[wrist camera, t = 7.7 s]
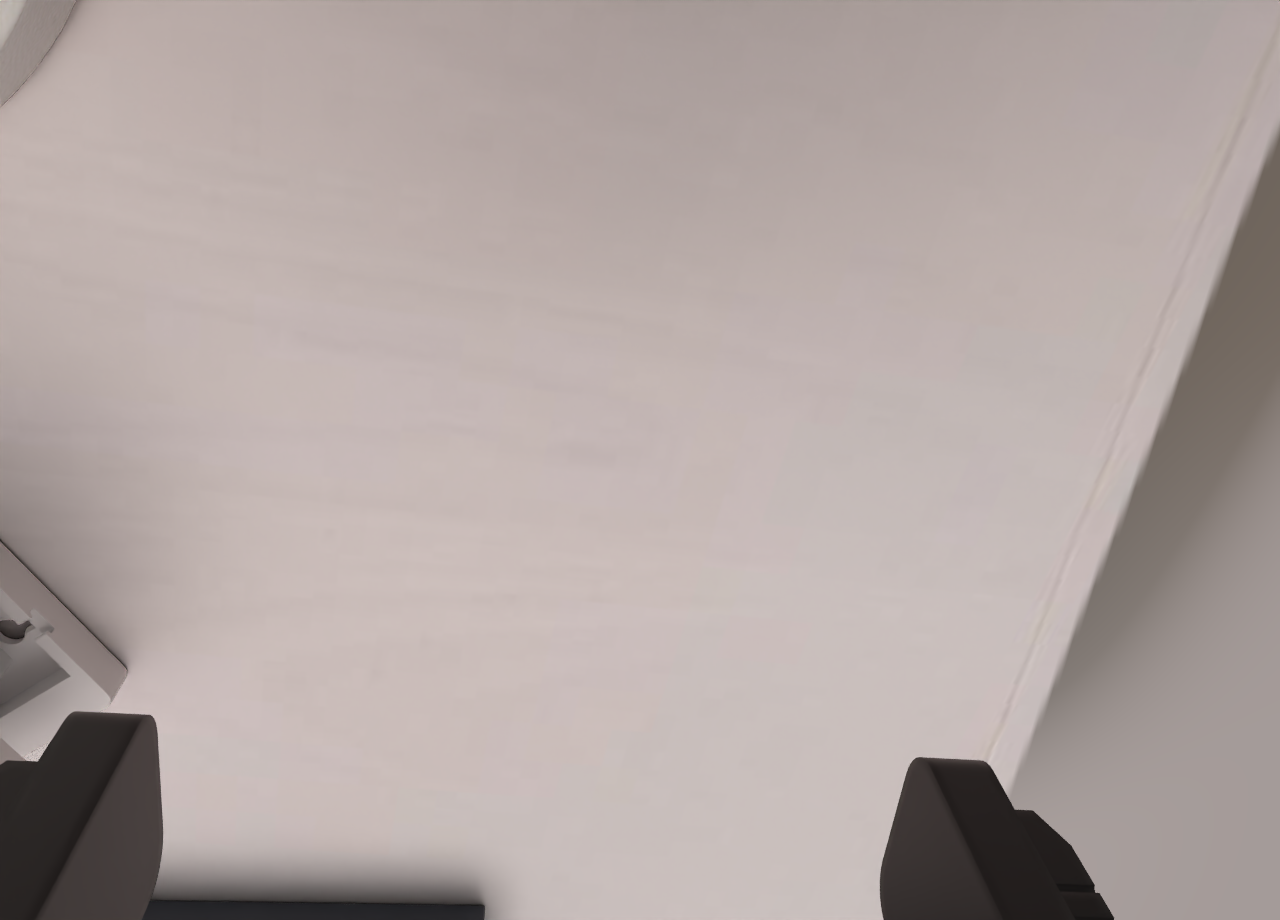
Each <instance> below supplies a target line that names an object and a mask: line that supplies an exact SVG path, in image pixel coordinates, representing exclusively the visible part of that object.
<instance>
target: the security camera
mask: <svg viewBox="0 0 1280 920" xmlns="http://www.w3.org/2000/svg"><path fill="white" fill-rule="evenodd" d="M2 620H14V621H15V622H16V623H17V624H18V625H21V624H22V623H24V622H26V621H27V620H28V621H29V622H30V623H31V625H30V626H28V627H27V628H26V630H25V635H24V637H23V638H21V639H10V638H7V637H6V636H4V635H3V634H2V633H1V632H0V765H1V764H2V763H4V762H5V761H6V760H13V761H26V760H25V759H24V758H23V757H25V756H26V755H28V754H30V753H32V752H33V751H35V750H37V749H38V748H40V747H42V746H43V745H45V744H47V743H49V742H50V741H51V740H52V739H53V737H54V736H55V734H56V732H57V731H58V729H59V728H60V726H61V725H62V723H63V721H64V720H65V719H66V717H67V716H68V715H69V714H70V713H72V712H74V711H83V712H101V711H103V710H105V709H106V708H108V707H109V706H110V704H111V702H112V701H113V699H114V697H115V695H116V694H117V692H118V690H119V689H120V687H121V685H122V683H123V682H124V680H125V678H126V676H127V670H126V668H125V667H124V666H123V665H122V664H121V663H120V662H119V661H118V660H117V659H116V658H115V657H114V656H113V655H112V654H111V653H110V652H109V651H108V650H107V649H106V648H105V647H104V646H103V645H102V644H101V643H100V642H99V641H98V640H97V639H96V638H95V637H94V636H93V635H92V634H91V633H90V632H89V631H88V629H87V628H86V627H85V626H84V625H83V624H82V623H81V622H80V621H79V620H78V619H77V618H76V617H75V616H74V615H73V614H72V613H71V612H70V611H69V610H68V609H67V608H66V607H65V606H64V605H63V604H62V603H61V602H60V601H59V600H58V599H57V598H56V597H55V596H54V595H53V594H52V593H51V592H50V591H49V590H48V589H47V588H46V587H45V586H44V585H43V584H42V583H41V582H40V581H39V580H38V579H37V578H36V577H35V576H34V575H33V574H32V573H31V572H30V571H29V570H28V569H27V568H26V567H25V566H24V565H23V564H22V563H21V562H20V561H19V560H18V559H17V558H16V557H15V556H14V555H13V554H12V553H11V552H10V551H9V550H8V549H7V548H6V547H5V546H4V545H3V544H2V543H1V542H0V621H2Z"/></svg>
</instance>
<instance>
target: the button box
mask: <svg viewBox="0 0 1280 920" xmlns="http://www.w3.org/2000/svg"><path fill="white" fill-rule="evenodd" d="M484 918H485V906H476V905H409V904H341V903H273V902H205V901H150V902H149V904H148V906H147V909H146V911H145V913H144V916H143V918H142V920H484Z"/></svg>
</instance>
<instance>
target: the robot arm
mask: <svg viewBox="0 0 1280 920" xmlns="http://www.w3.org/2000/svg"><path fill="white" fill-rule="evenodd" d="M162 846H163V820H162V802H161V785H160V768H159V751H158V734H157V727H156V722H155V720H154V718H153V717H152V716H151V715H141V714H121V713H102V712H83V711H74V712H72V713H70V714H69V715H68V716H67V717H66V719H65V720H64V721H63V723H62V725H61V726H60V728H59V729H58V731H57V732H56V734H55V736H54V737H53V739H52V740H51V742H50V743H49V745H48V747H47V748H46V750H45V751H44V753H43V755H42V756H41V758H40V759H39V761H38V762H34V761H13V760H6V761H5V762H4V763H2V764H1V765H0V920H142V918H143V916H144V913H145V911H146V909H147V906H148V904H149V902H150V899H151V896H152V894H153V891H154V888H155V884H156V881H157V877H158V872H159V868H160V862H161V855H162ZM1094 886H1095V885H1094V883H1093V882H1092V880H1091V878H1090V876H1089V875H1088V873H1087V872H1086V870H1085V868H1084V866H1083V865H1082V863H1081V861H1080V860H1079V858H1078V856H1077V855H1076V853H1075V851H1074V850H1073V848H1072V846H1071V845H1070V844H1069V843H1068V842H1067V841H1065V840H1064V839H1063V838H1062V837H1061V836H1060V835H1059V834H1058V833H1057V832H1056V831H1054V830H1053V829H1052V828H1051V827H1050V826H1049V825H1048V824H1047V823H1046V822H1045V821H1044V820H1042V819H1041V818H1040V817H1039V816H1038V815H1037V814H1036V813H1035V812H1034V811H1031V810H1014V808H1013V806H1012V804H1011V802H1010V800H1009V799H1008V797H1007V795H1006V793H1005V791H1004V790H1003V788H1002V786H1001V784H1000V782H999V780H998V779H997V777H996V775H995V773H994V771H993V770H992V768H991V767H990V766H989V765H988V764H987V763H986V762H984V761H980V760H961V759H942V758H923V757H918V758H915V759H914V760H913V761H912V763H911V764H910V766H909V768H908V771H907V774H906V777H905V781H904V784H903V788H902V792H901V795H900V799H899V803H898V806H897V810H896V814H895V817H894V821H893V825H892V828H891V832H890V836H889V839H888V843H887V847H886V850H885V854H884V858H883V862H882V867H881V874H880V899H881V908H882V914H883V918H884V920H1114V917H1113V915H1112V914H1111V912H1110V910H1109V908H1108V907H1107V905H1106V903H1105V902H1104V900H1103V898H1102V897H1101V895H1100V893H1095V890H1094Z"/></svg>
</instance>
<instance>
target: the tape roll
mask: <svg viewBox="0 0 1280 920" xmlns="http://www.w3.org/2000/svg"><path fill="white" fill-rule="evenodd" d="M75 2H76V0H0V106H2V105H3V104H4V103H5V102H6V101H7V100H8V99H9V98H10V97H11V96H12V95H13V94H14V93H15V92H16V91H17V90H18V89H19V88H20V87H21V85H22V84H23V83H24V82H25V81H26V80H27V79H28V77H29V76H30V75H31V74H32V73H33V72H34V70H35V69H36V68H37V66H38V65H39V63H40V62H41V60H42V59H43V58H44V56H45V55H46V53H47V52H48V50H49V49H50V48H51V46H52V45H53V43H54V41H55V40H56V38H57V37H58V35H59V34H60V32H61V31H62V29H63V27H64V25H65V23H66V21H67V19H68V17H69V15H70V13H71V10H72V8H73V6H74V4H75Z"/></svg>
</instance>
